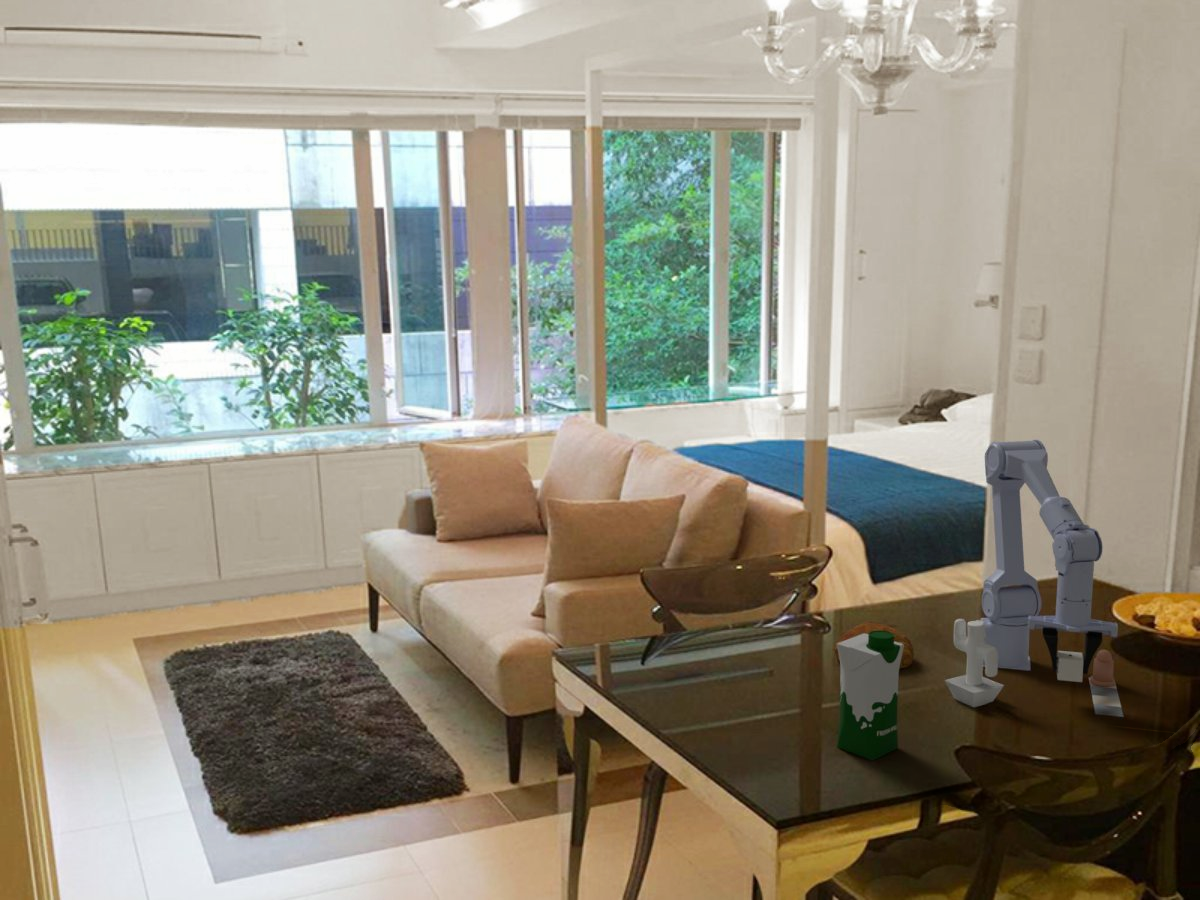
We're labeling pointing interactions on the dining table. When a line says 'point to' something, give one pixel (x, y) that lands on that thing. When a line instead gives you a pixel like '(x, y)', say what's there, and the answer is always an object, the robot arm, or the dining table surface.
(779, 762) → the dining table surface
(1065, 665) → the die
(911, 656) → the croissant
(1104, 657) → the pawn
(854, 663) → the milk carton
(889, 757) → the dining table surface
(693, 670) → the dining table surface
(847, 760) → the dining table surface
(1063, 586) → the robot arm
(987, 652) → the figurine
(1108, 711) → the board
